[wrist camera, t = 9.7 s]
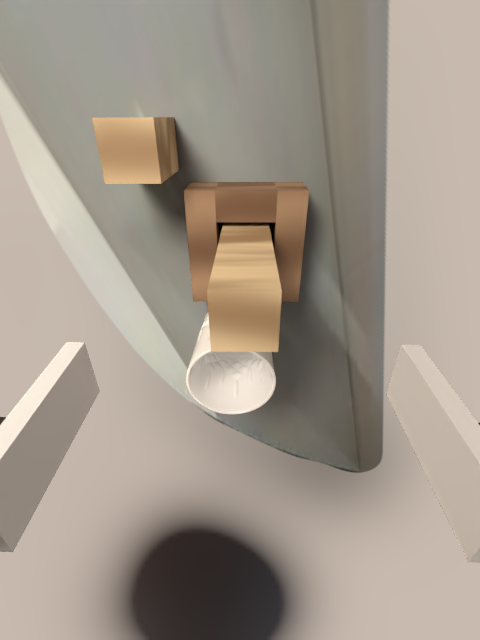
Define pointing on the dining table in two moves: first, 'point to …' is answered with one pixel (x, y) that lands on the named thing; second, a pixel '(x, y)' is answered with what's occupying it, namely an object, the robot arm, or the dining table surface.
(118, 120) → the short oak peg
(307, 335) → the dining table surface
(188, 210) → the walnut hole block
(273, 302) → the long oak peg
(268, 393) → the white cup
